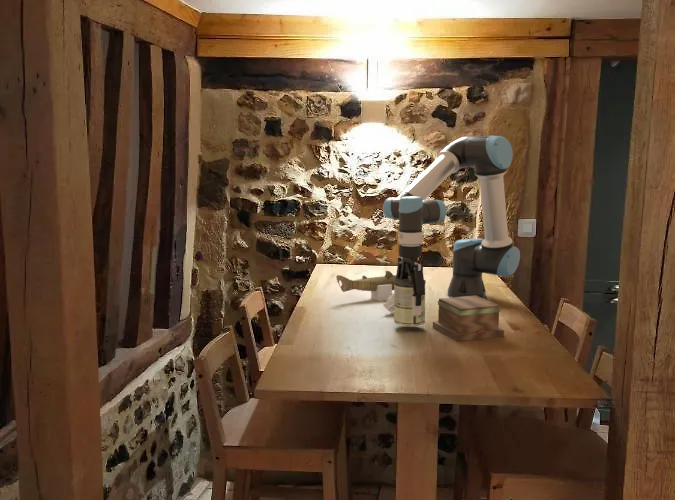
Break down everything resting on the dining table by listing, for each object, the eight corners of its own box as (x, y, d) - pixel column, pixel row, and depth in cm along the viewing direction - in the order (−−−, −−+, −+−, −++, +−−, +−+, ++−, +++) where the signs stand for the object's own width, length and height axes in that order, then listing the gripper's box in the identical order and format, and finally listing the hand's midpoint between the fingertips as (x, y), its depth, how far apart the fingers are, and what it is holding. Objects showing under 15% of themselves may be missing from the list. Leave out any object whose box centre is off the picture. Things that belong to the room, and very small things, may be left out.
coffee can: (397, 316, 214) (398, 276, 211) (427, 319, 210) (428, 278, 208) (390, 325, 204) (390, 282, 202) (421, 327, 201) (422, 285, 198)
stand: (476, 322, 215) (478, 294, 213) (503, 336, 200) (505, 305, 198) (432, 327, 209) (433, 298, 208) (457, 341, 194) (458, 310, 193)
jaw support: (419, 308, 222) (399, 288, 222) (401, 324, 224) (382, 305, 225) (422, 300, 233) (404, 282, 234) (405, 316, 236) (387, 298, 236)
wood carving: (331, 300, 245) (331, 272, 243) (409, 292, 259) (409, 266, 257) (340, 306, 236) (340, 277, 235) (420, 297, 250) (421, 270, 249)
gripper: (385, 239, 212) (385, 303, 216) (415, 250, 191) (414, 321, 195) (405, 238, 215) (404, 301, 218) (437, 249, 194) (436, 318, 197)
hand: (409, 310), depth 207 cm, fingers closed on coffee can, 10 cm apart
